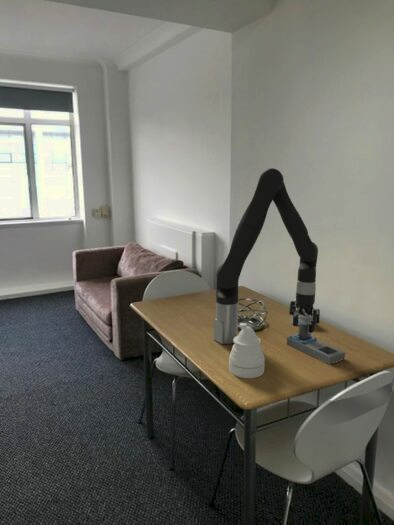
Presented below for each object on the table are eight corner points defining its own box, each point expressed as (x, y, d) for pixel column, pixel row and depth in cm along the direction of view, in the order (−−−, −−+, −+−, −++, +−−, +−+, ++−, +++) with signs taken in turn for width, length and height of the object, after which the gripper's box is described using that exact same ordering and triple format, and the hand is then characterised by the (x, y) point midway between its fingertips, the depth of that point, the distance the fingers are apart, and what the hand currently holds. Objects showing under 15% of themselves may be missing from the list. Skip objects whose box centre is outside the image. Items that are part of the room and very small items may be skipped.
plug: (302, 348, 173) (304, 321, 171) (295, 345, 177) (297, 318, 174) (309, 346, 175) (311, 319, 173) (302, 343, 179) (304, 316, 176)
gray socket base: (344, 359, 164) (345, 347, 163) (329, 364, 159) (330, 352, 158) (301, 339, 182) (302, 328, 181) (286, 344, 178) (287, 332, 177)
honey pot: (239, 380, 147) (240, 332, 143) (223, 365, 159) (223, 320, 155) (271, 373, 152) (273, 326, 148) (252, 359, 164) (254, 315, 160)
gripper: (286, 288, 175) (284, 325, 178) (312, 297, 163) (309, 336, 167) (299, 285, 179) (297, 322, 182) (325, 294, 167) (322, 333, 170)
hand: (303, 329), depth 174 cm, fingers open, 8 cm apart
